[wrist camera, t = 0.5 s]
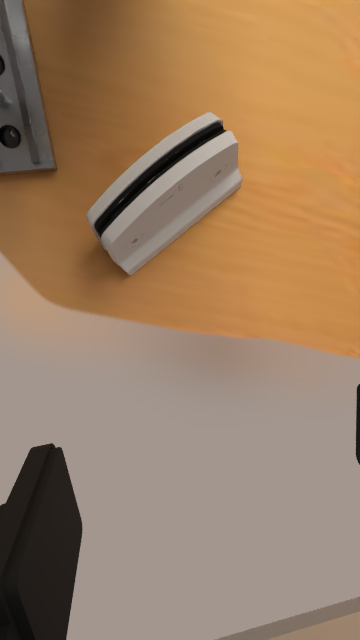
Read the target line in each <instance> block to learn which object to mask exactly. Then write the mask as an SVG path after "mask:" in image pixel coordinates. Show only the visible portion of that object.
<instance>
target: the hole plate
mask: <svg viewBox="0 0 360 640" xmlns="http://www.w3.org/2000/svg"><path fill="white" fill-rule="evenodd" d="M0 90H1V91H2V92H3V94H4V96H5V100H4V102H3V103H2V104H0V175H9V174H20V173H31V172H41V171H52V170H57V166H56V161H55V156H54V151H53V146H52V141H51V136H50V131H49V126H48V121H47V116H46V111H45V106H44V101H43V96H42V91H41V86H40V81H39V76H38V71H37V66H36V61H35V56H34V51H33V46H32V41H31V36H30V31H29V26H28V21H27V16H26V11H25V6H24V1H23V0H0Z"/></svg>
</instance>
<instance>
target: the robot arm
mask: <svg viewBox="0 0 360 640" xmlns="http://www.w3.org/2000/svg"><path fill="white" fill-rule="evenodd" d="M356 419H357V420H356V422H357V423H356V457H357V460H358V463H359V464H360V384H359V385H358V387H357V418H356ZM81 538H82V522H81V517H80V513H79V510H78V506H77V502H76V499H75V495H74V491H73V487H72V484H71V480H70V476H69V473H68V469H67V465H66V462H65V458H64V454H63V451H62V448H61V447H57V448H55V446H54V444H52V443H51V444H46V445H42V446H37V447H33V448H31V449H30V451H29V453H28V456H27V458H26V460H25V462H24V464H23V467H22V469H21V471H20V473H19V475H18V478H17V480H16V482H15V485H14V486H13V489H12V491H11V493H10V495H9V497H8V500H7V502H6V503H5V504H2V505H1V506H0V640H66V636H67V630H68V623H69V616H70V610H71V603H72V597H73V590H74V583H75V577H76V570H77V564H78V557H79V551H80V544H81ZM216 640H360V597H357V598H354V599H351V600H347V601H344V602H340V603H337V604H334V605H330V606H327V607H324V608H320V609H317V610H313V611H310V612H307V613H303V614H300V615H296V616H293V617H290V618H286V619H283V620H279V621H276V622H273V623H270V624H266V625H263V626H259V627H256V628H253V629H249V630H246V631H243V632H239V633H236V634H233V635H230V636H226V637H223V638H219V639H216Z"/></svg>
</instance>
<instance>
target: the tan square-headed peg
mask: <svg viewBox="0 0 360 640" xmlns="http://www.w3.org/2000/svg"><path fill="white" fill-rule="evenodd" d="M4 100H5V96H4V94H3V92H2V91H1V90H0V104H2V103H3V102H4Z"/></svg>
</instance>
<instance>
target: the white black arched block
mask: <svg viewBox="0 0 360 640" xmlns="http://www.w3.org/2000/svg"><path fill="white" fill-rule="evenodd" d="M241 183H242V177H241V175H240V172H239V170H238V142H237V140H236V139H235V137H234V135H233V133H232V132H231V131H226V130H223V121H222V120H221V119H220V118H218V117H217V116H216V115H214V114H213V113H211V112H208V113H206V114H204V115H202V116H200V117H198V118H196V119H194V120H192V121H191V122H189V123H187V124H186V125H184V126H182V127H181V128H179V129H178V130H176V131H175V132H173V133H172V134H170V135H169V136H167V137H166V138H164V139H163V140H162V141H161V142H159V143H158V144H157V145H155V146H154V147H153V148H152V149H150V150H149V151H148V152H146V153H145V154H144V155H143V156H142V157H140V158H139V159H138V160H137V161H136V162H135V163H133V164H132V165H131V166H130V167H129V168H128V169H127V170H126V171H125V172H124V173H123V174H122V175H121V176H120V177H119V178H118V179H117V180H115V182H114V183H113V184H112V185H111V186H110V187H109V188H108V189H107V190H106V191H105V192H104V193H103V194H102V195H101V197H100V198H99V199H98V200H97V201H96V202H95V204H94V205H93V206H92V207H91V208H90V210H89V211H88V213H87V216H86V217H87V219H88V221H89V223H90V225H91V227H92V229H93V231H94V233H95V235H96V236H97V238H98V240H99V241H100V243H101V245H102V247H103V248H104V250H107V251H108V253H109V255H110V257H111V259H112V260H113V261H114V262H115V263H116V264H117V265H119V266H120V267H121V268H122V269H123V270H124V271H125V272H127V273H128V274H129V275H130V276H131V275H132V274H134V273H135V272H136V271H137V270H139V269H140V268H141V267H142V266H143V265H145V264H146V263H147V262H148V261H150V260H151V259H152V258H153V257H155V256H156V255H157V254H158V253H159V252H161V251H162V250H163V249H164V248H166V247H167V246H168V245H169V244H171V243H172V242H173V241H174V240H175V239H177V238H178V237H179V236H180V235H182V234H183V233H184V232H185V231H187V230H188V229H189V228H190V227H192V226H193V225H194V224H195V223H196V222H198V221H199V220H200V219H201V218H203V217H204V216H205V215H206V214H208V213H209V212H210V211H211V210H212V209H214V208H215V207H216V206H217V205H219V204H220V203H221V202H222V201H224V200H225V199H226V198H227V197H228V196H230V195H231V194H232V193H233V192H235V191H236V190H237V189H238V188H240V187H241Z"/></svg>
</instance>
